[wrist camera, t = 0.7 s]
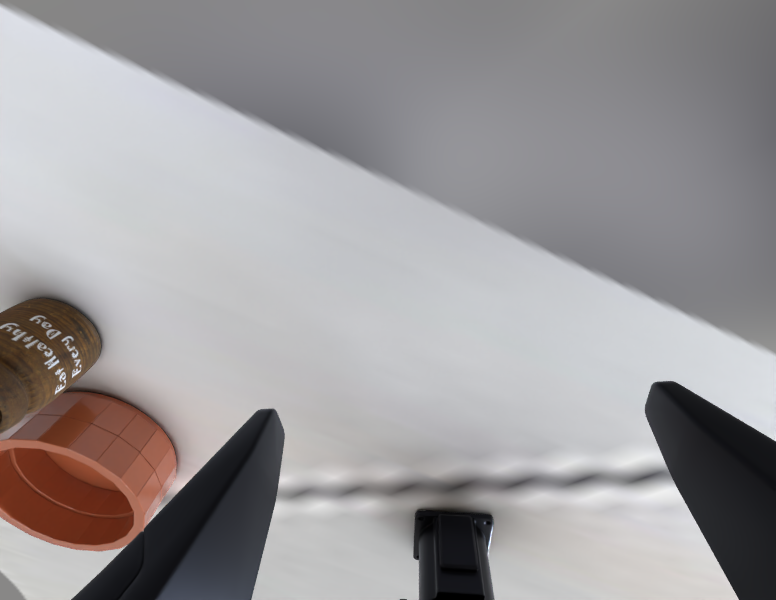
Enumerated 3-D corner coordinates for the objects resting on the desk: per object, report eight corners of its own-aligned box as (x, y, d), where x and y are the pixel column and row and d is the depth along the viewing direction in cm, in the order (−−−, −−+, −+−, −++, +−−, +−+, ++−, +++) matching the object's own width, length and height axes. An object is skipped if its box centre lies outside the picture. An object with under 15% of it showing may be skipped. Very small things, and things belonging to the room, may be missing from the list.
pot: (195, 497, 35) (163, 556, 31) (64, 489, 36) (15, 546, 32) (157, 391, 30) (112, 444, 25) (4, 384, 30) (-66, 435, 26)
